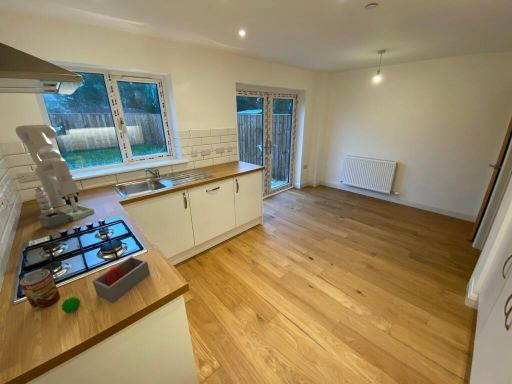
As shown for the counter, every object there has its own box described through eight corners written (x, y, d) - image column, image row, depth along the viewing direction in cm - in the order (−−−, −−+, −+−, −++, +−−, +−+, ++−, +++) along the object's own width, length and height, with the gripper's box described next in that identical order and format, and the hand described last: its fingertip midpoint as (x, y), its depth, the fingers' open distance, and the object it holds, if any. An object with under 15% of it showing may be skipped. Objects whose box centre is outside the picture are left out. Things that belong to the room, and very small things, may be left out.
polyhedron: (84, 303, 80) (80, 293, 79) (76, 314, 76) (72, 304, 74) (69, 305, 79) (65, 295, 78) (60, 316, 75) (56, 306, 73)
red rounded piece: (115, 292, 85) (110, 276, 82) (108, 289, 87) (103, 273, 84) (142, 273, 95) (138, 258, 92) (135, 270, 97) (131, 255, 94)
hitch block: (42, 226, 136) (37, 216, 134) (60, 219, 145) (57, 210, 142) (50, 229, 132) (46, 219, 130) (69, 222, 141) (65, 212, 138)
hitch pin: (69, 212, 150) (63, 195, 145) (77, 209, 154) (71, 192, 149) (73, 213, 148) (67, 196, 144) (81, 211, 152) (75, 193, 148)
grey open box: (97, 295, 84) (92, 280, 81) (135, 268, 98) (131, 255, 95) (113, 303, 80) (108, 288, 77) (150, 274, 94) (147, 261, 92)
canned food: (42, 313, 76) (29, 287, 72) (27, 308, 78) (13, 282, 74) (65, 296, 83) (55, 271, 79) (51, 292, 85) (40, 267, 81)
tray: (59, 215, 150) (57, 211, 149) (80, 208, 161) (78, 204, 160) (74, 220, 143) (72, 216, 142) (94, 212, 154) (93, 208, 153)
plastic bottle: (57, 213, 154) (47, 187, 147) (45, 217, 148) (34, 190, 141) (52, 212, 156) (42, 186, 149) (40, 216, 150) (29, 189, 143)
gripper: (75, 174, 151) (82, 198, 157) (45, 181, 137) (55, 207, 143) (81, 175, 148) (88, 200, 155) (51, 182, 134) (61, 209, 140)
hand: (72, 203), depth 149 cm, fingers open, 3 cm apart
